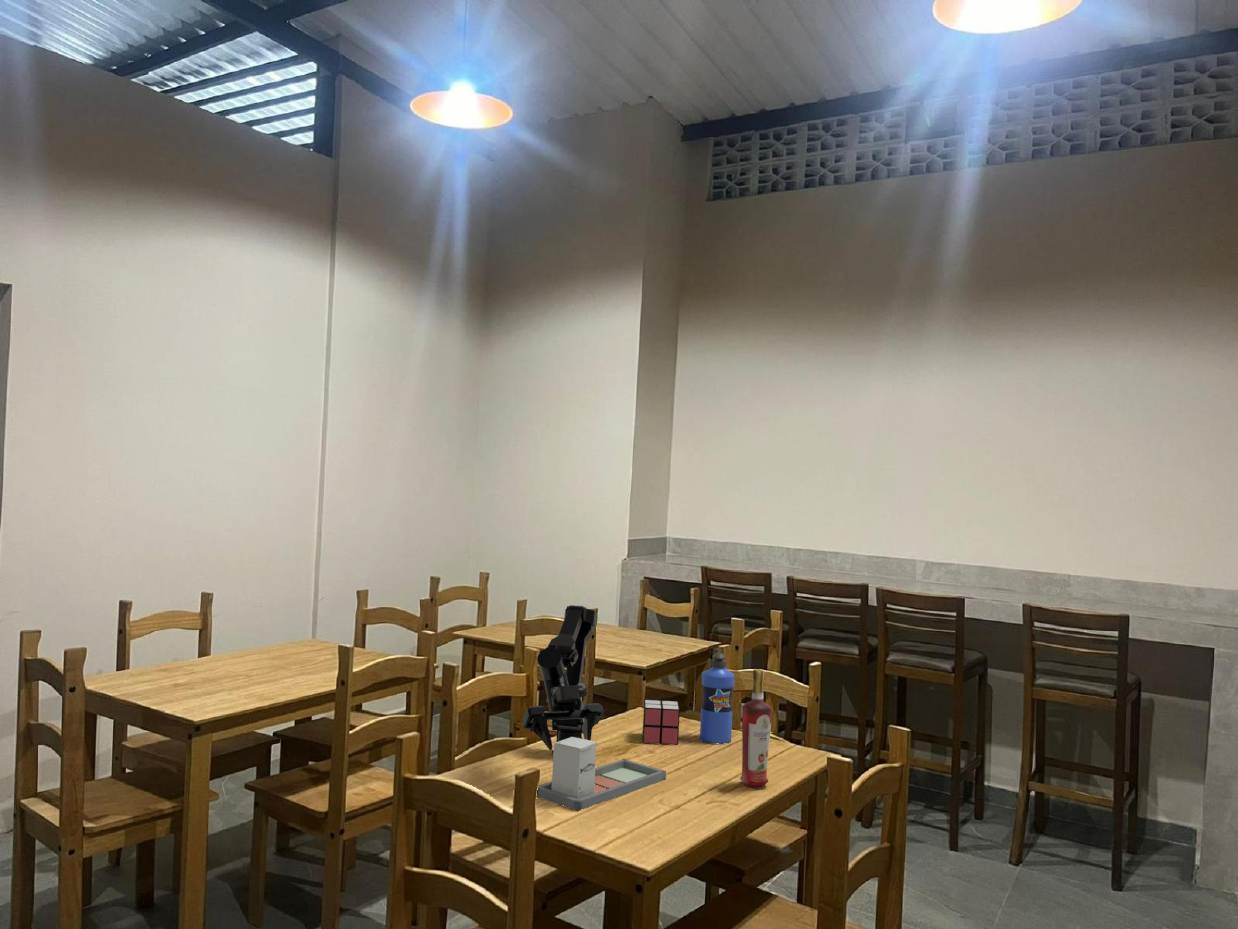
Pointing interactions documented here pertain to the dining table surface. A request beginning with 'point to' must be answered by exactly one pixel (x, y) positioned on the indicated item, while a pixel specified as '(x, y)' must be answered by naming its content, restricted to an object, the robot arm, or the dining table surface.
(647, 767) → the shallow tray
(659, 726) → the puzzle cube
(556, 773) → the supplement box
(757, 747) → the liquor
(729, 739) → the water bottle
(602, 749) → the dining table surface
